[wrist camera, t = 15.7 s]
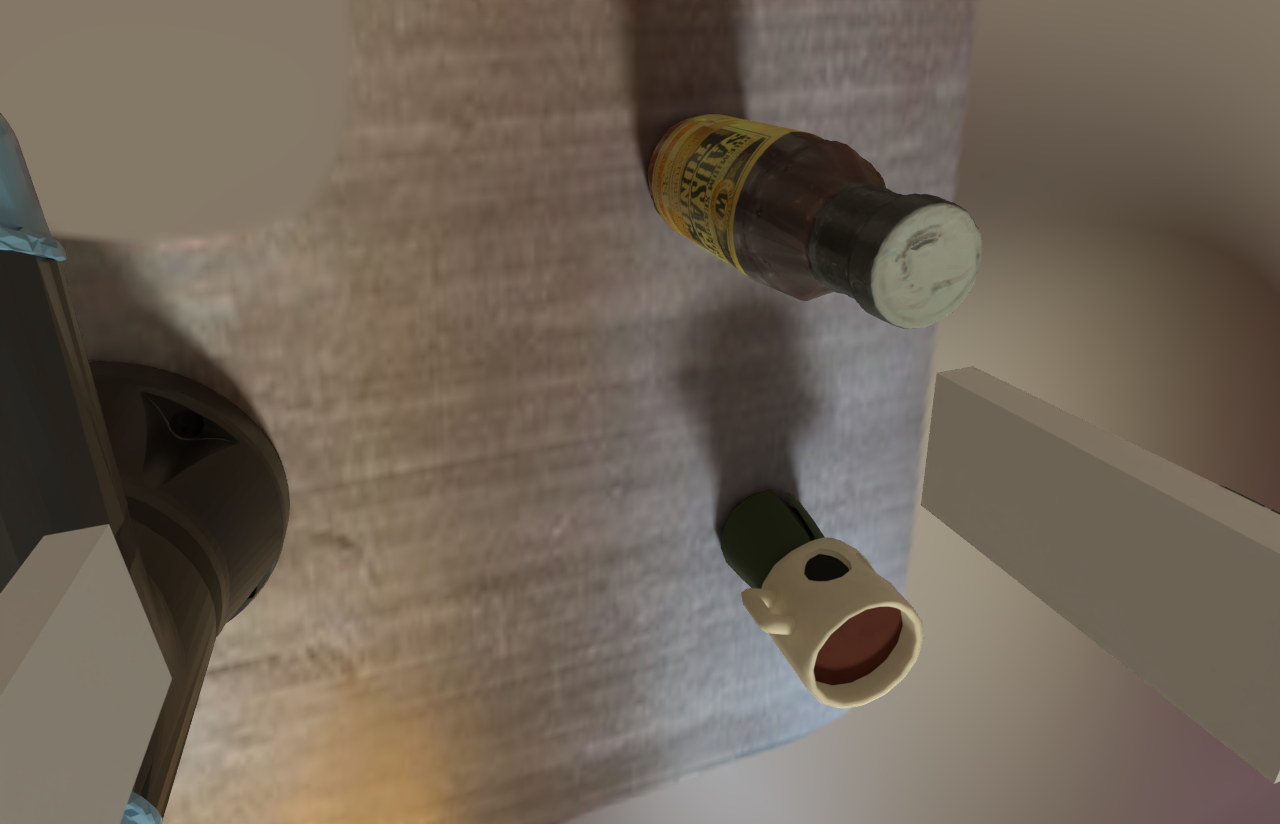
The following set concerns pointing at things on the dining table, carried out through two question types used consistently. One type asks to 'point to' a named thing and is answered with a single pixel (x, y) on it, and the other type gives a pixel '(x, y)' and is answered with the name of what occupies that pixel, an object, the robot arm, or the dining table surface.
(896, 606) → the character mug
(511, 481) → the dining table surface
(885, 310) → the sauce bottle
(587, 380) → the dining table surface
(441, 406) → the dining table surface
